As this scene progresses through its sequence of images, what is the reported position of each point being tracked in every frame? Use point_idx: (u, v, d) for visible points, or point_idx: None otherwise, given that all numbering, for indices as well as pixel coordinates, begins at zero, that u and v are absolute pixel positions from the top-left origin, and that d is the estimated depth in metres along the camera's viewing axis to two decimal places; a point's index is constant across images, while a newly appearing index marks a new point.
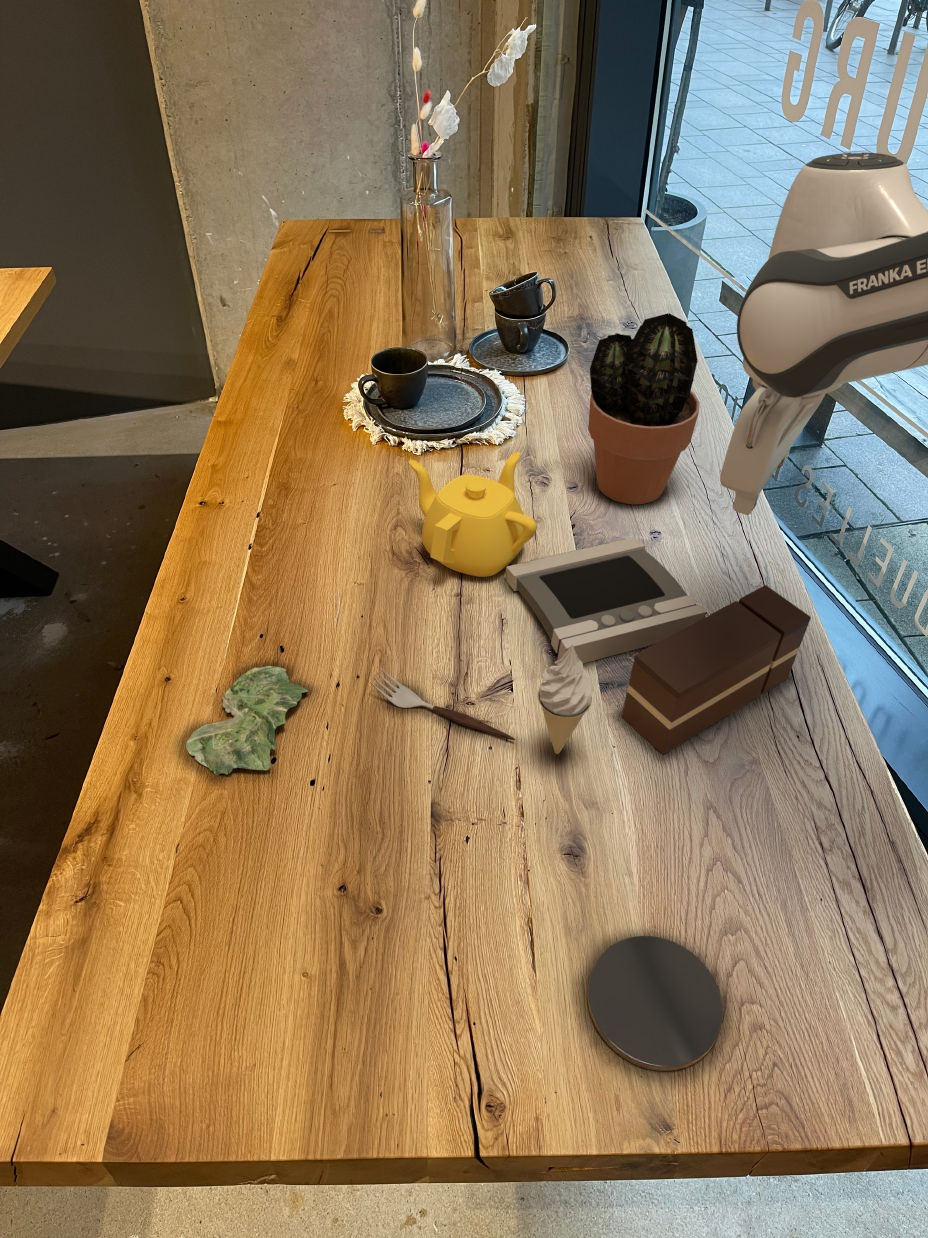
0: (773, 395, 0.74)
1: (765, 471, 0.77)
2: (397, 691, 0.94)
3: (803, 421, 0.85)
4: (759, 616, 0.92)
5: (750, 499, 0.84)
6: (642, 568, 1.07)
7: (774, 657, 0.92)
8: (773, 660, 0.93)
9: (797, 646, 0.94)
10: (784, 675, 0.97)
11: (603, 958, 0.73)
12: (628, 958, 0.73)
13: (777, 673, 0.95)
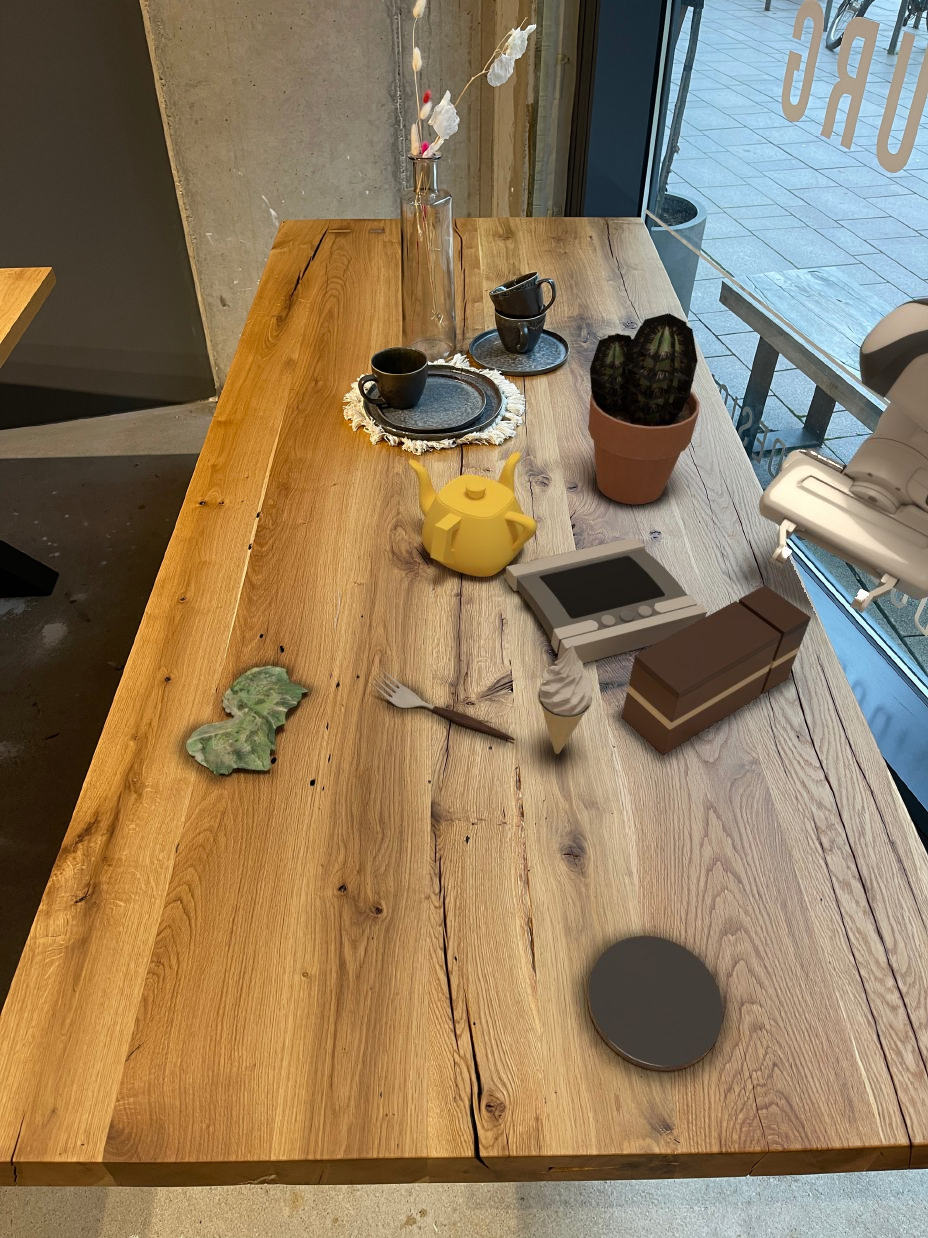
0: (816, 451, 1.02)
1: (777, 482, 1.00)
2: (397, 691, 0.94)
3: (871, 541, 0.96)
4: (759, 616, 0.92)
5: (778, 543, 0.99)
6: (642, 568, 1.07)
7: (774, 657, 0.92)
8: (773, 660, 0.93)
9: (797, 646, 0.94)
10: (784, 675, 0.97)
11: (603, 958, 0.73)
12: (628, 958, 0.73)
13: (777, 673, 0.95)
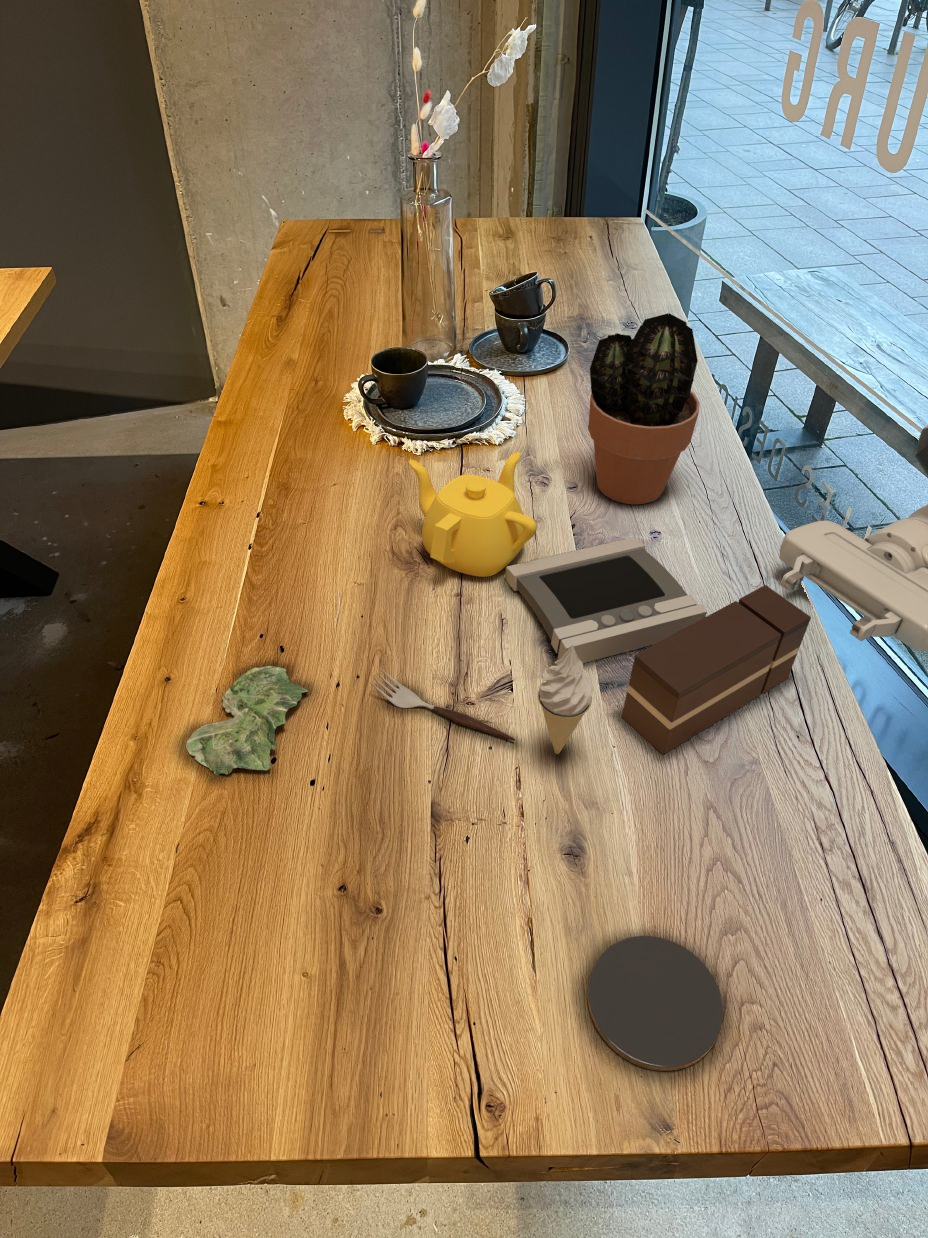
0: None
1: (801, 528, 1.07)
2: (397, 691, 0.94)
3: (881, 584, 0.99)
4: (759, 616, 0.92)
5: (792, 570, 1.03)
6: (642, 568, 1.07)
7: (774, 657, 0.92)
8: (773, 660, 0.93)
9: (797, 646, 0.94)
10: (784, 675, 0.97)
11: (603, 958, 0.73)
12: (628, 958, 0.73)
13: (777, 673, 0.95)
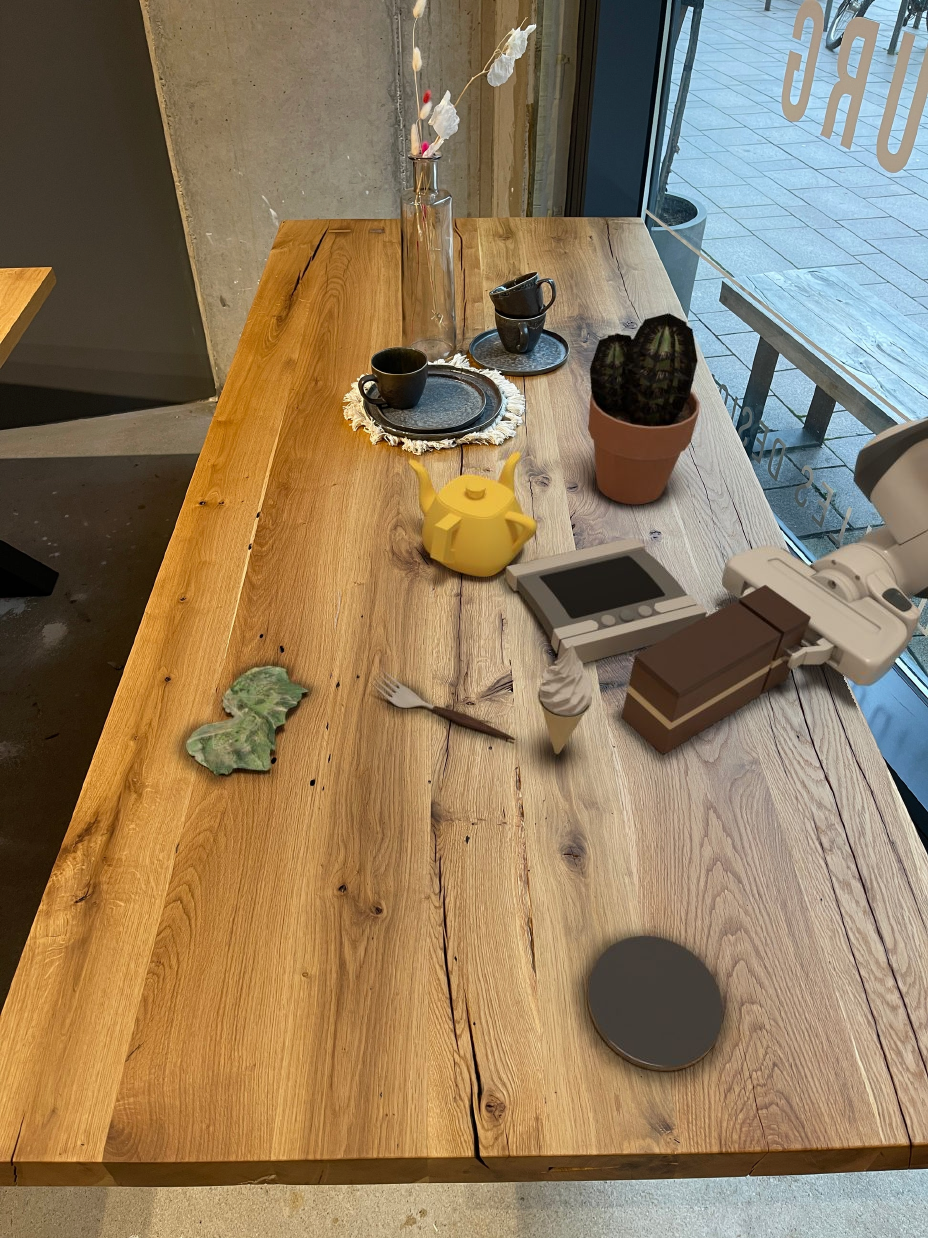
0: None
1: (744, 553, 1.02)
2: (397, 691, 0.94)
3: (823, 615, 0.95)
4: (759, 616, 0.92)
5: None
6: (642, 568, 1.07)
7: (774, 657, 0.92)
8: (773, 660, 0.93)
9: None
10: (784, 675, 0.97)
11: (603, 958, 0.73)
12: (628, 958, 0.73)
13: (777, 673, 0.95)
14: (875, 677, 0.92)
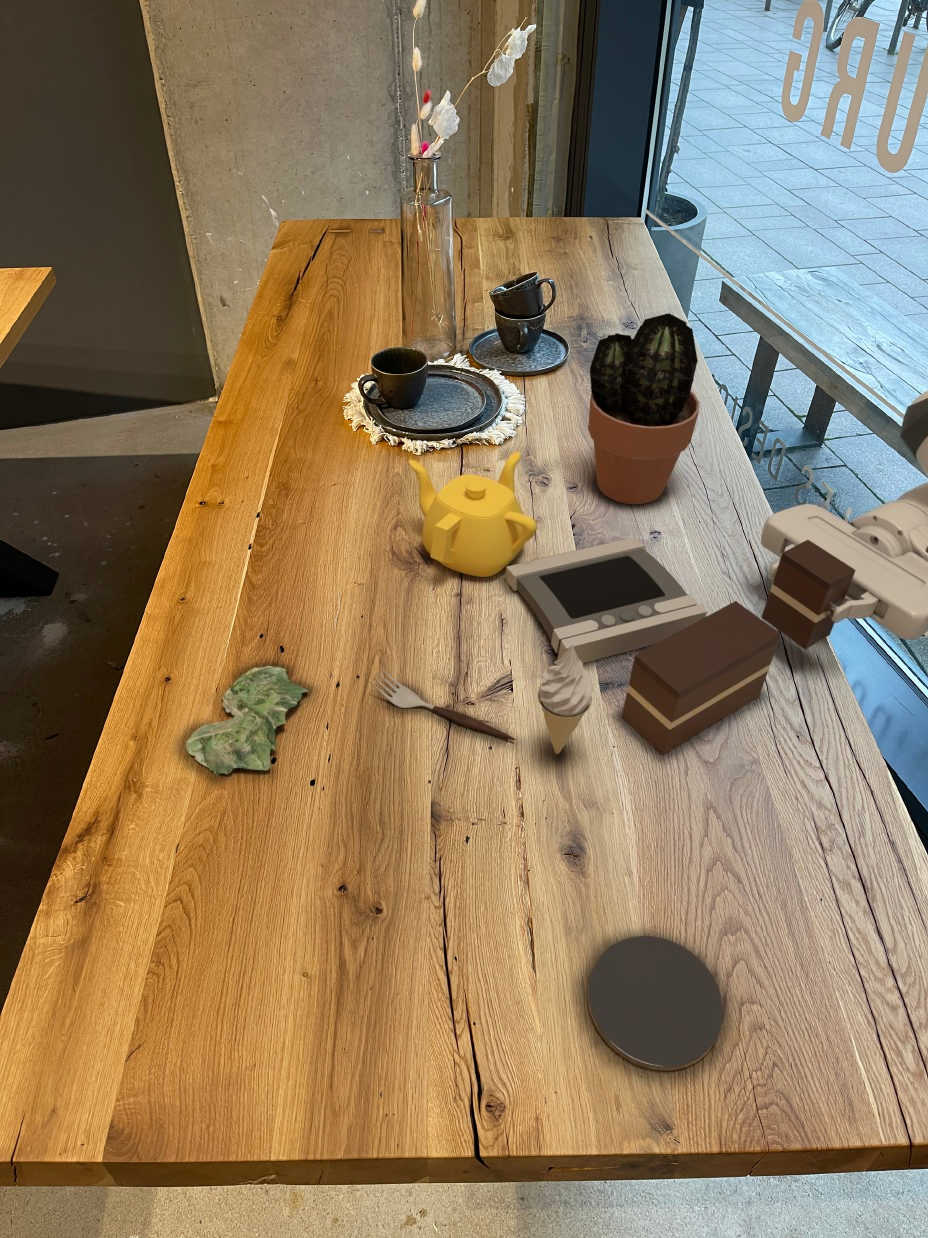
0: None
1: (784, 511, 1.02)
2: (397, 691, 0.94)
3: (866, 569, 0.94)
4: (803, 569, 0.91)
5: None
6: (642, 568, 1.07)
7: (818, 611, 0.92)
8: (817, 614, 0.92)
9: None
10: (827, 631, 0.96)
11: (603, 958, 0.73)
12: (628, 958, 0.73)
13: (820, 629, 0.95)
14: (921, 630, 0.91)
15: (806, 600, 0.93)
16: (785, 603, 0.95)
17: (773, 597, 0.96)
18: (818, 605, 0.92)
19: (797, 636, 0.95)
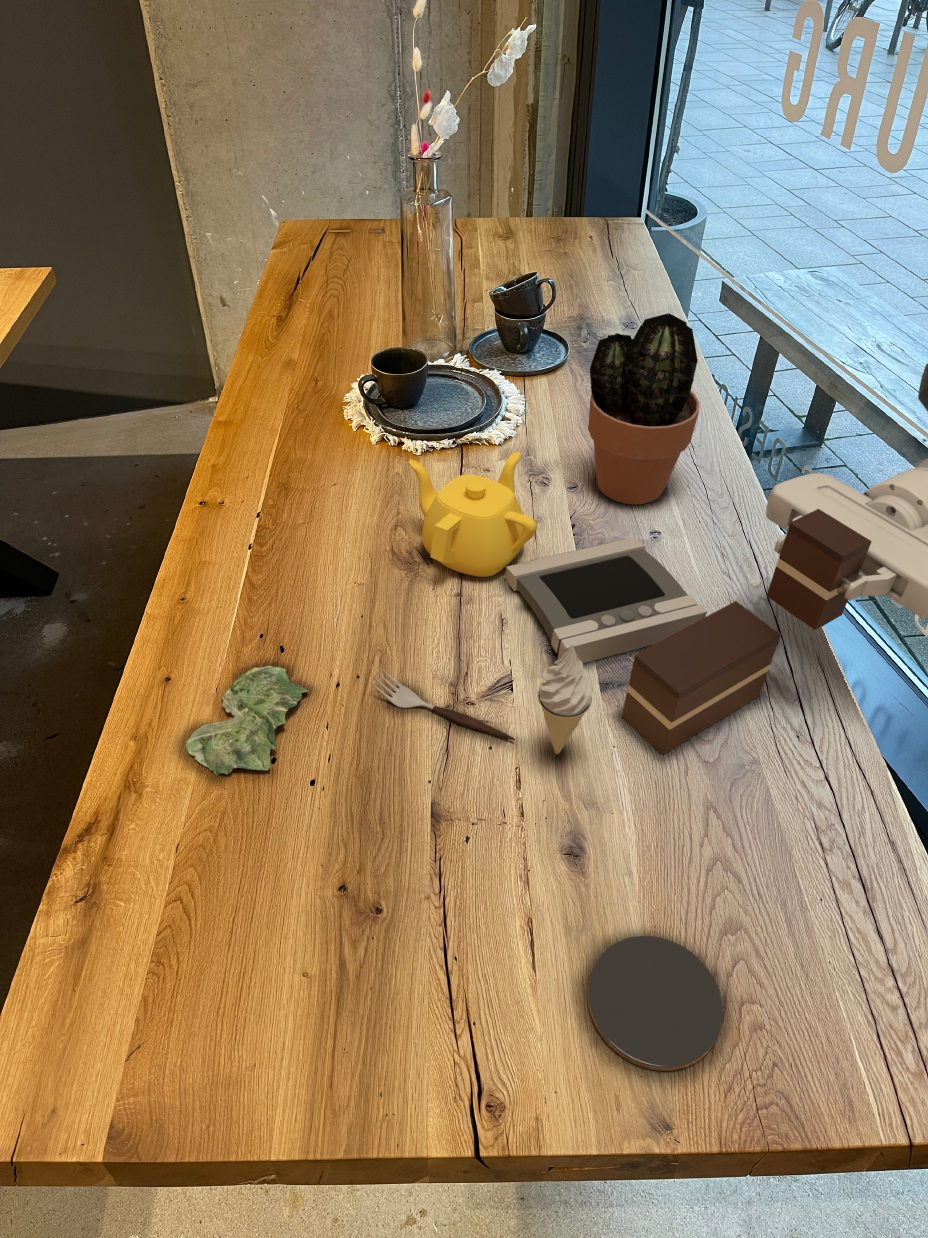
0: None
1: (791, 481, 0.93)
2: (397, 691, 0.94)
3: (882, 542, 0.85)
4: (813, 540, 0.82)
5: None
6: (642, 568, 1.07)
7: (830, 587, 0.83)
8: (828, 590, 0.83)
9: None
10: (839, 610, 0.87)
11: (603, 958, 0.73)
12: (628, 958, 0.73)
13: (832, 607, 0.86)
14: None
15: (816, 575, 0.84)
16: (793, 579, 0.86)
17: (780, 573, 0.87)
18: (829, 580, 0.83)
19: (806, 616, 0.86)
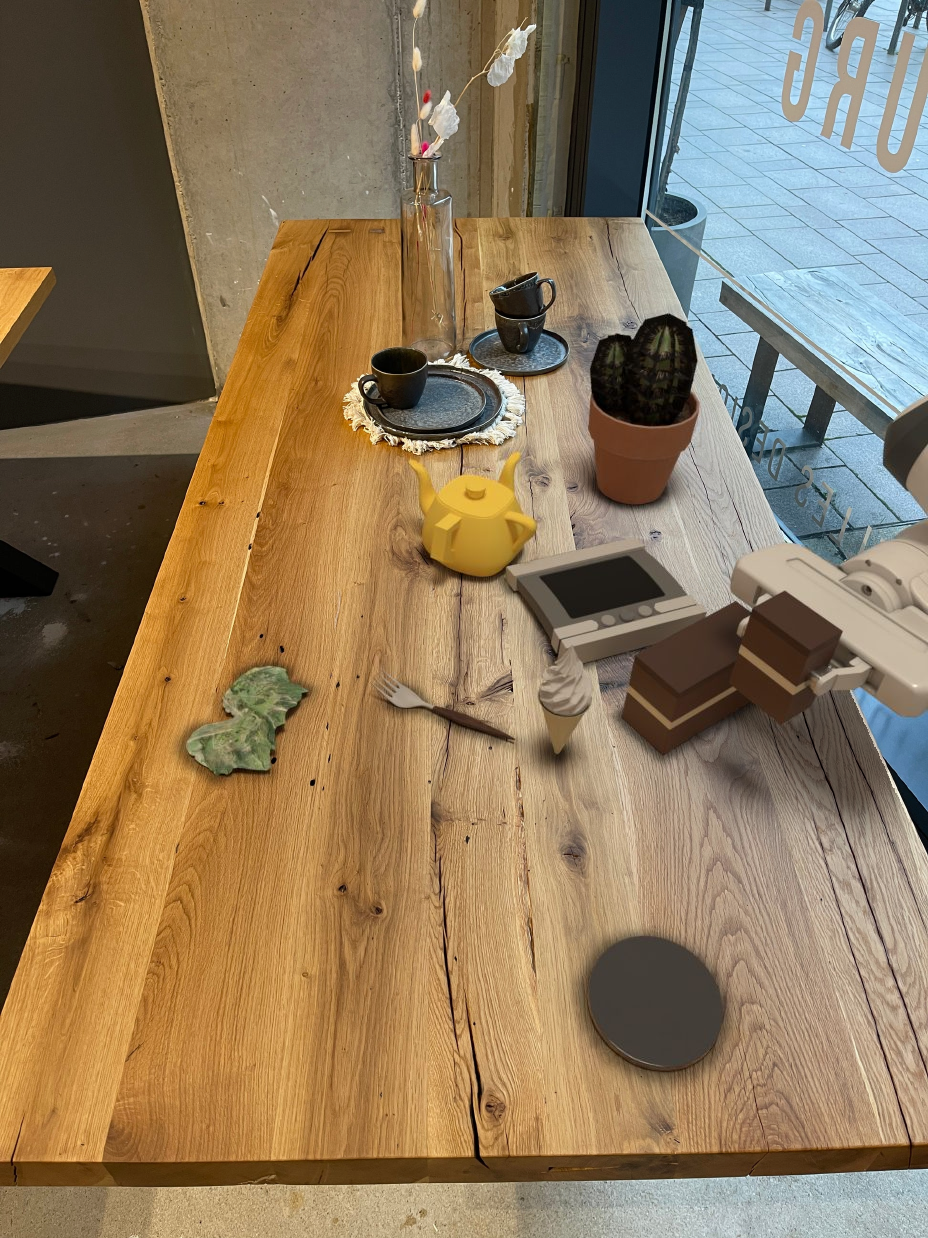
0: (809, 549, 0.87)
1: (758, 552, 0.84)
2: (397, 691, 0.94)
3: (856, 628, 0.76)
4: (777, 630, 0.73)
5: None
6: (642, 568, 1.07)
7: (796, 681, 0.74)
8: (795, 685, 0.74)
9: None
10: (808, 702, 0.78)
11: (603, 958, 0.73)
12: (628, 958, 0.73)
13: (800, 701, 0.77)
14: (924, 707, 0.73)
15: (782, 667, 0.75)
16: (757, 669, 0.77)
17: (742, 660, 0.78)
18: (796, 674, 0.74)
19: (771, 709, 0.78)
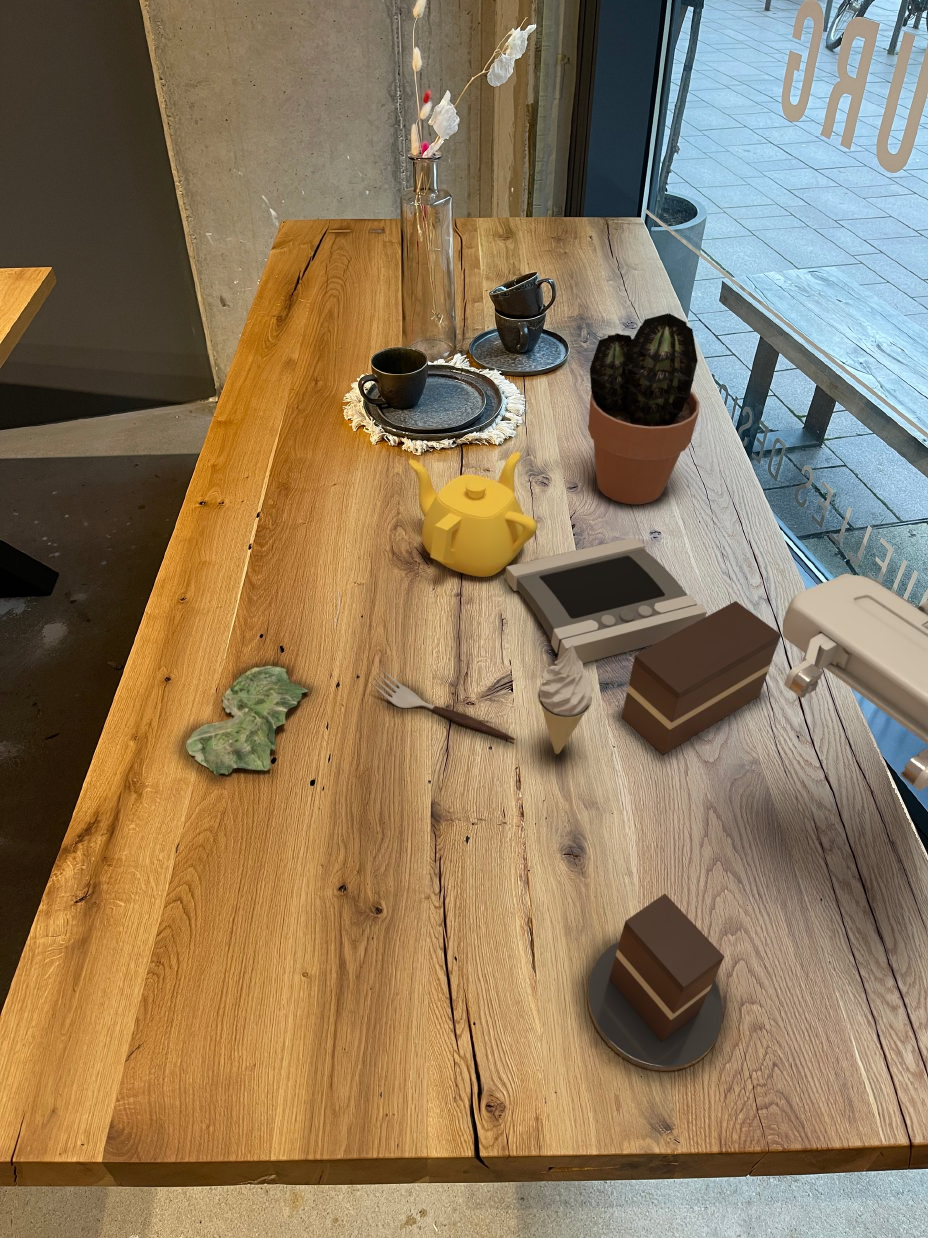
0: None
1: (818, 588, 0.67)
2: (397, 691, 0.94)
3: None
4: (651, 953, 0.65)
5: (804, 660, 0.64)
6: (642, 568, 1.07)
7: (673, 1009, 0.65)
8: (672, 1012, 0.65)
9: (707, 986, 0.66)
10: (693, 1013, 0.69)
11: (603, 958, 0.73)
12: None
13: (682, 1018, 0.68)
14: None
15: (658, 989, 0.66)
16: (634, 979, 0.68)
17: (620, 964, 0.69)
18: (672, 1002, 0.65)
19: (651, 1023, 0.69)
